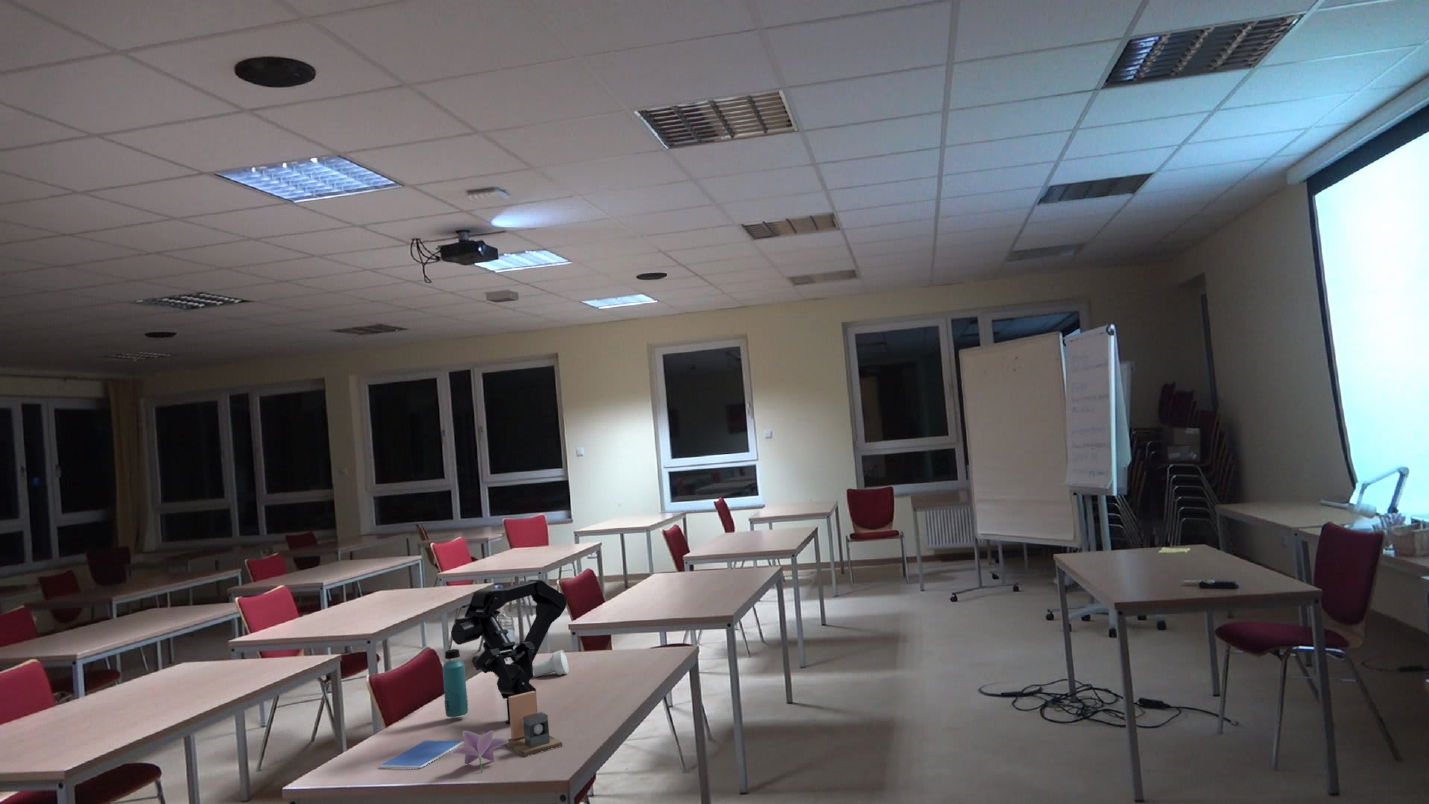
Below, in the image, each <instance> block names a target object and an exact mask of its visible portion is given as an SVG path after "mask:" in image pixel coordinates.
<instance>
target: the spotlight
mask: <svg viewBox="0 0 1429 804" xmlns="http://www.w3.org/2000/svg"><path fill="white" fill-rule="evenodd" d="M532 665H533V676H535V678H539V676H540V677H542V676H546V675H550V674H552V673H555V674H556V675H558V676H563V675H562V674H564V675H567V674H568V673H569V661H568V658H567V655H566V653H565V651H564V650H563V649H559V650H556V651H554V652H553V653H552V655H551V657H550V658H547V659H544V660H540V661H537V662H534V663H532Z"/></svg>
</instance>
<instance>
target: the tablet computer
mask: <svg viewBox="0 0 1429 804" xmlns="http://www.w3.org/2000/svg"><path fill="white" fill-rule="evenodd" d="M463 743H464V744H465V742H464V740H430V739H429V740H424V741H421V742H419V743H418V744H416V745H414V746H412V747H411V748H409V749H406V750H405V751H404V752H402V753H400V754H398V755H396V756H394V757H392V758H390V759H389V760H386V761H385V762H383V763H381V764H380V765H379V769H381V768H386V769H385V770H388V769H387V768H406V769H405V770H418V769H417V768H421V767H423V766H425V767H426V765H427V764H428V763H430V764H432V763H433V762H435V761H437V760H438V759H440V758H441V757H444V756H445V755H447V754H448V753H450V752H453V751H454V750H455V749H458V748H459V747H460V745H461V746H463V745H464V744H463ZM458 746H459V747H458ZM454 748H455V749H454ZM453 749H454V750H453ZM449 751H450V752H449ZM446 753H447V754H446ZM444 754H445V755H444ZM439 757H440V758H439ZM436 759H437V760H436ZM434 760H435V761H434ZM432 761H433V762H432ZM431 762H432V763H431ZM428 765H429V764H428ZM428 765H427V766H428ZM408 768H409V769H408ZM410 768H411V769H410ZM413 768H414V769H413ZM421 769H422V768H421Z"/></svg>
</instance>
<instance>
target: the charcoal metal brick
mask: <svg viewBox="0 0 1429 804" xmlns="http://www.w3.org/2000/svg"><path fill="white" fill-rule="evenodd" d="M538 723H539V724H541V725H542V726H543V730H542V732H541V733H540V734H536V733H534V729H533V725H535V724H538ZM523 724H524V738H525V745H526V746H528V747H530V748H534V747H537V746H541V745H544V744H548V743H550V740H549V735H550V729H549V715H548V714H547V713H545V712H543V711H539V712H538V713H535V714H531V715H527V716H523Z"/></svg>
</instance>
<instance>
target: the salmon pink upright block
mask: <svg viewBox="0 0 1429 804" xmlns="http://www.w3.org/2000/svg"><path fill="white" fill-rule="evenodd" d="M508 699H509V712H510V723H509V726H510V737H511V738H512V739H517V738H520V737H524V724H523V716H527V715H531V714H535V713H539V712H538V702H537V701H538V700H537V699H538V698H537V691H536V692H535V691H531V692H527V693H523V694H518V695H514V696H510V697H508ZM533 729H534V733H536V734H540V733H541V732H542V730H543V726H542V725H541V724H539V723H538V724H535V725H533ZM511 738H510V739H511Z"/></svg>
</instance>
